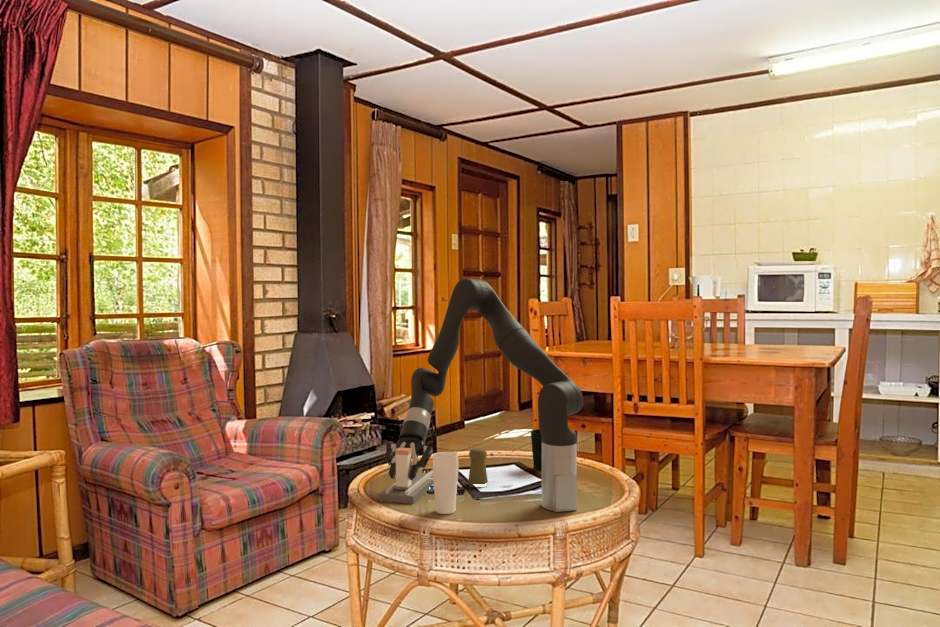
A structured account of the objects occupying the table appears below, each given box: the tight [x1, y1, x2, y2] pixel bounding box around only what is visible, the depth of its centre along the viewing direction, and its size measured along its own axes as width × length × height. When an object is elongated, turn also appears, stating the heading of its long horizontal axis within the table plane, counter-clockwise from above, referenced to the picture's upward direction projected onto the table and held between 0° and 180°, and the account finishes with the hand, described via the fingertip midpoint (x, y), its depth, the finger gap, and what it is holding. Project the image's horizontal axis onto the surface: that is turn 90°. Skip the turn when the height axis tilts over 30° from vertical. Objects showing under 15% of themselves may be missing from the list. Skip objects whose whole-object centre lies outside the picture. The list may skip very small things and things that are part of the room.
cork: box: [467, 447, 489, 484], centre depth 209 cm, size 6×6×11 cm
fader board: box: [378, 470, 433, 505], centre depth 204 cm, size 24×10×3 cm, turn 165°
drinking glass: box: [431, 451, 459, 515], centre depth 184 cm, size 7×7×15 cm
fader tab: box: [394, 447, 413, 490], centre depth 198 cm, size 4×4×11 cm
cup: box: [530, 428, 542, 472], centre depth 228 cm, size 8×8×12 cm
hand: (401, 477), depth 196 cm, fingers open, 5 cm apart
